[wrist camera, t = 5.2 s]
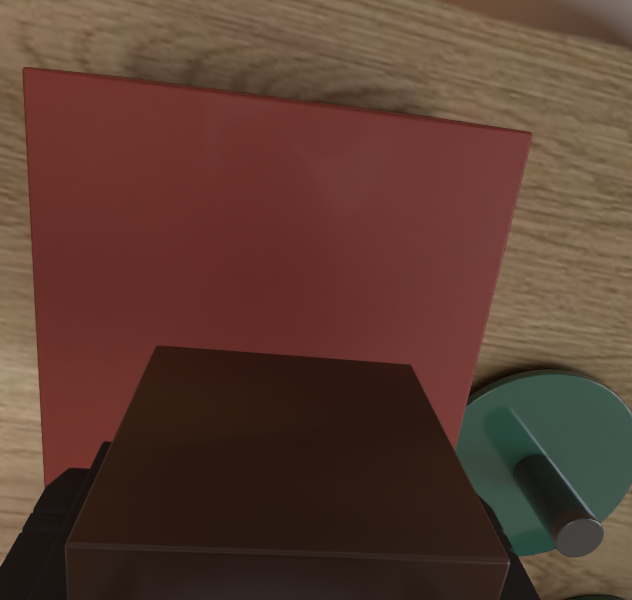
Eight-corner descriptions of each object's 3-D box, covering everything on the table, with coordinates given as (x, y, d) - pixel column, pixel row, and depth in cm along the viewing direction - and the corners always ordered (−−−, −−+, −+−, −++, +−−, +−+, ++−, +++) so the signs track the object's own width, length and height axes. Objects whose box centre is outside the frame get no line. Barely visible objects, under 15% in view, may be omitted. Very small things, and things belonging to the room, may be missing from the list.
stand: (436, 117, 25) (534, 132, 16) (385, 388, 30) (438, 522, 21) (118, 76, 24) (20, 66, 14) (117, 369, 28) (44, 506, 19)
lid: (656, 371, 31) (745, 436, 25) (592, 545, 35) (656, 634, 30) (443, 355, 30) (486, 419, 24) (402, 538, 34) (430, 631, 28)
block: (411, 363, 11) (513, 561, 6) (372, 557, 13) (431, 825, 8) (155, 343, 11) (61, 544, 6) (150, 549, 12) (76, 831, 8)
